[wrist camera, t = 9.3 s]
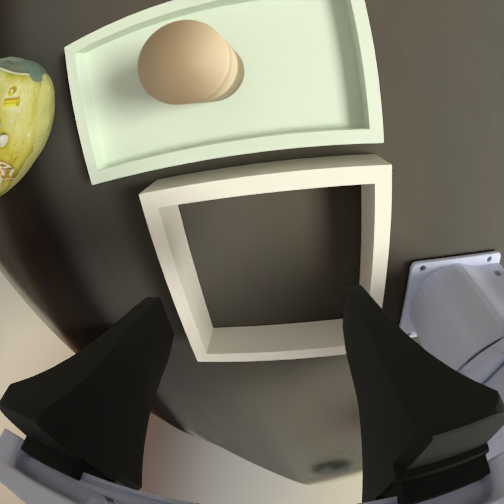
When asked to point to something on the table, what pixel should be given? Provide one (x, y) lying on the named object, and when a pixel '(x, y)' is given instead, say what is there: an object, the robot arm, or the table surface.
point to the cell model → (23, 117)
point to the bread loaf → (189, 64)
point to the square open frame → (255, 182)
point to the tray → (243, 100)
